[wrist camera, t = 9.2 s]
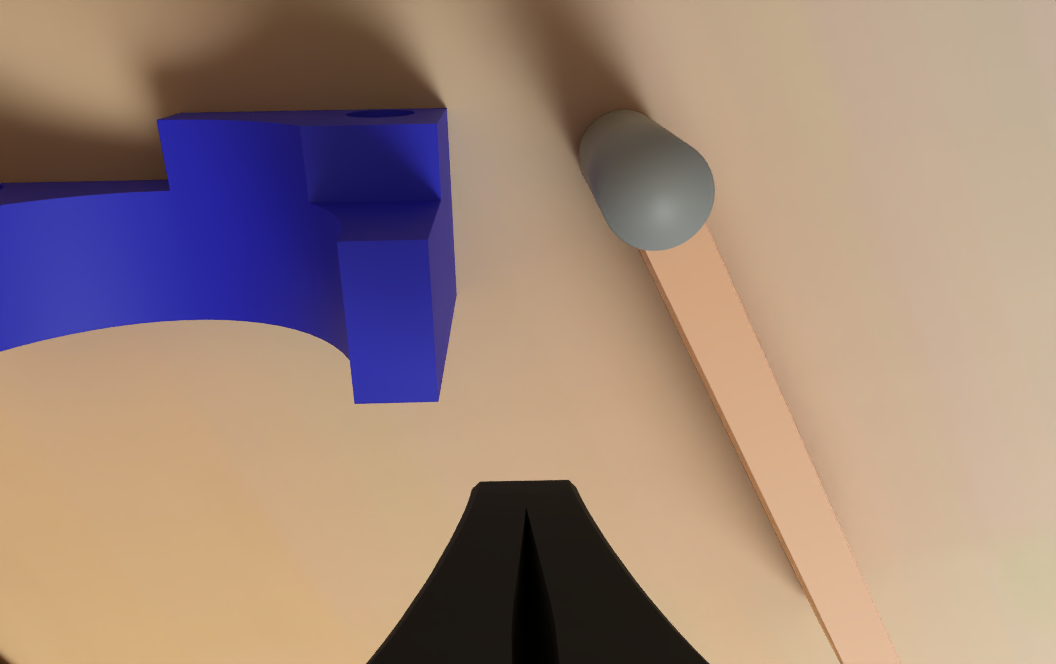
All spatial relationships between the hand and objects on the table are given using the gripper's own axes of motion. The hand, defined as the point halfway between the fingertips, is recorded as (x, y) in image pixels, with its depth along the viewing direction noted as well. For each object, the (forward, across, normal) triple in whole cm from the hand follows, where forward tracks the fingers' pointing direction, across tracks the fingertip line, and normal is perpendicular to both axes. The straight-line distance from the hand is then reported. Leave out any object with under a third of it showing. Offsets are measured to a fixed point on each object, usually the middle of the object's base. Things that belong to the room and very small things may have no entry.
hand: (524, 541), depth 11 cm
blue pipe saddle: (+10, +8, -3) cm, 13 cm away
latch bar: (+9, -6, +2) cm, 11 cm away
